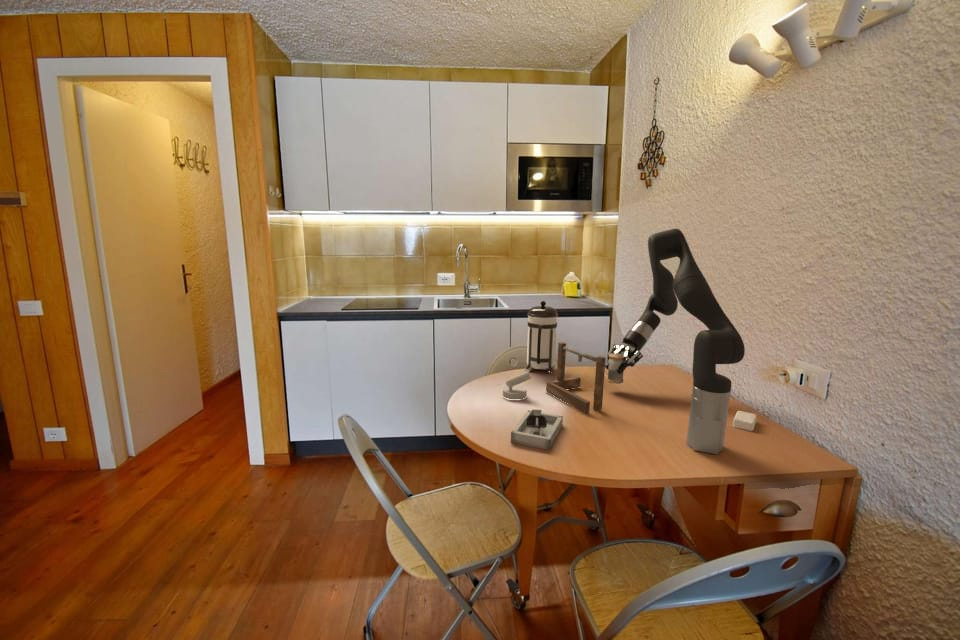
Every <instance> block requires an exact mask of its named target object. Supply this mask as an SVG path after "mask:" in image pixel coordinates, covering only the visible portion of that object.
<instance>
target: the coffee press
mask: <svg viewBox="0 0 960 640" xmlns="http://www.w3.org/2000/svg"><path fill="white" fill-rule="evenodd" d="M546 305H547V302H546V301H545V300H542V301H541V302H540V306H539V305H538V306H537V305H536V306H532V307H530V309H529V311H527V317H528V318H527V346H526V350H527V351H526V364H527V367H526V368H525V370H526V369H528V370H529V369H531V370H533V369H535V370H546V371H547V372H548V371H550V374H552V373H551V372H554V370H553V369H552V368H554V367H555V362H556V343H557V341H556V340H557V328H558V316H559V313H558V312H557V309H555V308H554V307H551V306H546Z"/></svg>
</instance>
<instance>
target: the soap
mask: <svg viewBox="0 0 960 640" xmlns="http://www.w3.org/2000/svg"><path fill="white" fill-rule="evenodd" d="M757 416H758V415H757V414H755V413H751V412H747V411H743V410H738V411H737V412H736V414H735V416H734V417H733V421H732V427H733V428H737V429H741V430H744V431H748V432H749V431H750V432H753V431H754V429H755V425H756V423H757V418H758V417H757Z"/></svg>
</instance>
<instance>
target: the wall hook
mask: <svg viewBox="0 0 960 640" xmlns="http://www.w3.org/2000/svg"><path fill="white" fill-rule="evenodd" d="M529 380H532V377H531V376H530V372H528V371H526V370H525V371H524V372H522V373H519V374H517V375H514V376H512V377H510V378H508V379H507V380H506V381H505V384H506V386H505V387H503V389H502V397H503V396H504V397H506V398H509V399H523V398H525V397H526V396H527V394H528V393H527V392H528V391H527V388H525V387H523V386H522V385H521V386H520V385H519V384H521V383H524V382H527V381H529ZM504 397H503V398H504ZM526 398H527V397H526Z"/></svg>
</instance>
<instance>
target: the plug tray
mask: <svg viewBox="0 0 960 640" xmlns="http://www.w3.org/2000/svg"><path fill="white" fill-rule="evenodd" d="M531 415H533V413H532V410H527V411H526V413H525V414H524V415H523V416H522V418H520V419H519V422H518V423H517V424H516V425H515V427H514V428H513V429H512V431H510V443H514V444H519V445H523V446H529V447H532V448H533V447H534V448H539V449H543V450H544V449H545V450H550V448H551V447H552V445H553V444H554V441H555V439H556V438H557V436H558V434H559V432H560V430H561V429H562V427H563V420H564V419H563V417H564V416H563V415H558V414H553V413H546V412H541V415H542V416H544V417H546V420H547V427H545V428H542V436H540V428H533V434H531V428H529V427H528V426H527V419H528V416H531Z"/></svg>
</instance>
